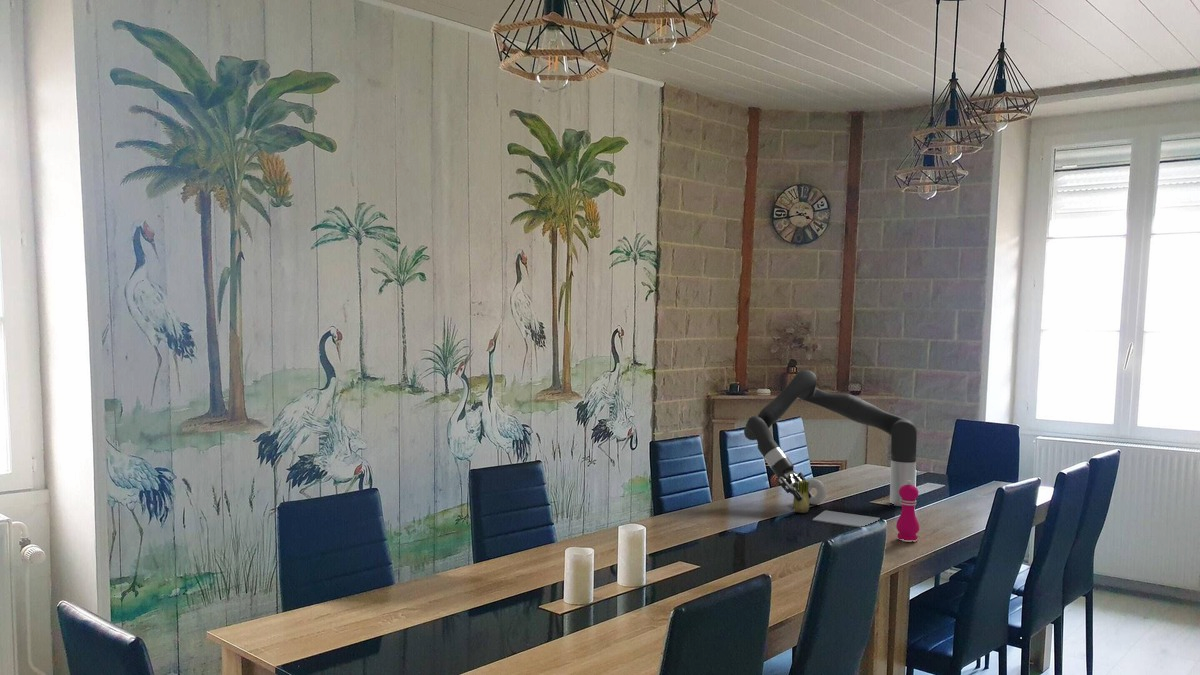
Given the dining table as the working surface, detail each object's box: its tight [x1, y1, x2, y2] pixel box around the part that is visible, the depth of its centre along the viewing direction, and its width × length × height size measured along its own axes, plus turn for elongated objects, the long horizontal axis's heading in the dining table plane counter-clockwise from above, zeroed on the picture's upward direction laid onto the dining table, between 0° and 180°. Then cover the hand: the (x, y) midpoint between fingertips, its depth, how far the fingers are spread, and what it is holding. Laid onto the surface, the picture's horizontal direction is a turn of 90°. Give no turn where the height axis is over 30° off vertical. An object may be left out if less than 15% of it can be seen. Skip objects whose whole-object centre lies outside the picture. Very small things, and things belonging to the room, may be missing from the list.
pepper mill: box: [895, 480, 920, 540], centre depth 278 cm, size 7×7×20 cm
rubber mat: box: [812, 509, 881, 528], centre depth 304 cm, size 16×20×1 cm
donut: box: [806, 478, 827, 506], centre depth 327 cm, size 10×4×10 cm, turn 47°
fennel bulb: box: [793, 480, 810, 514], centre depth 313 cm, size 6×5×12 cm
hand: (805, 498), depth 312 cm, fingers closed on fennel bulb, 5 cm apart
